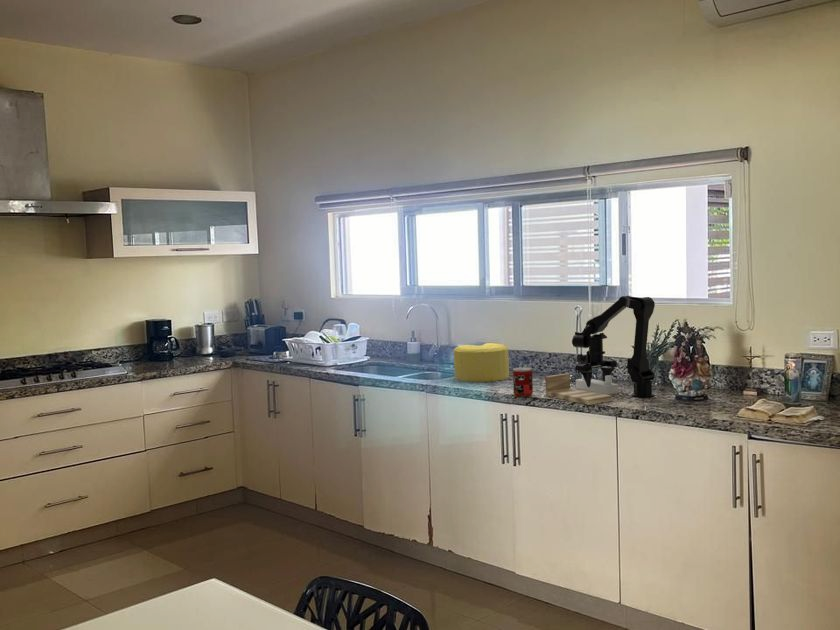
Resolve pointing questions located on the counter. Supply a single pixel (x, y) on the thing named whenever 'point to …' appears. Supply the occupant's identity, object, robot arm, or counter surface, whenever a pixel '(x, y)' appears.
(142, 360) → the counter surface
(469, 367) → the cheese
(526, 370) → the canned food
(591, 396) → the shelf
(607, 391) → the white studded brick
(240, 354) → the counter surface
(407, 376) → the counter surface
